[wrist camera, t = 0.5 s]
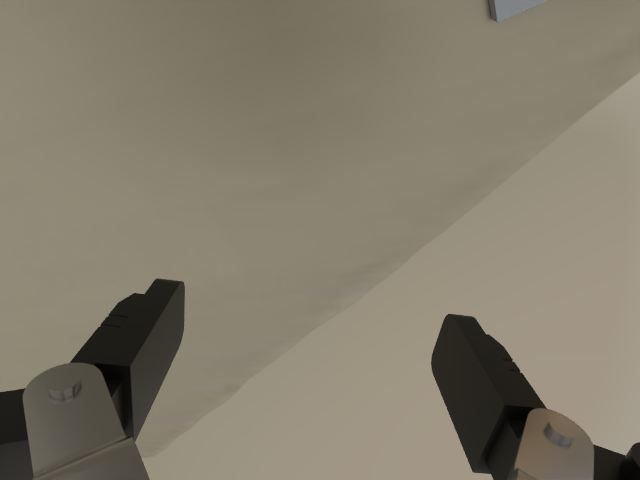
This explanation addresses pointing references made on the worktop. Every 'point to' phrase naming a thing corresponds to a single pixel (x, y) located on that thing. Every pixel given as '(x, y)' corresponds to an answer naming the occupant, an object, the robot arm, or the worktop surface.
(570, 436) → the robot arm
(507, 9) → the slate mat
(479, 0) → the worktop surface
